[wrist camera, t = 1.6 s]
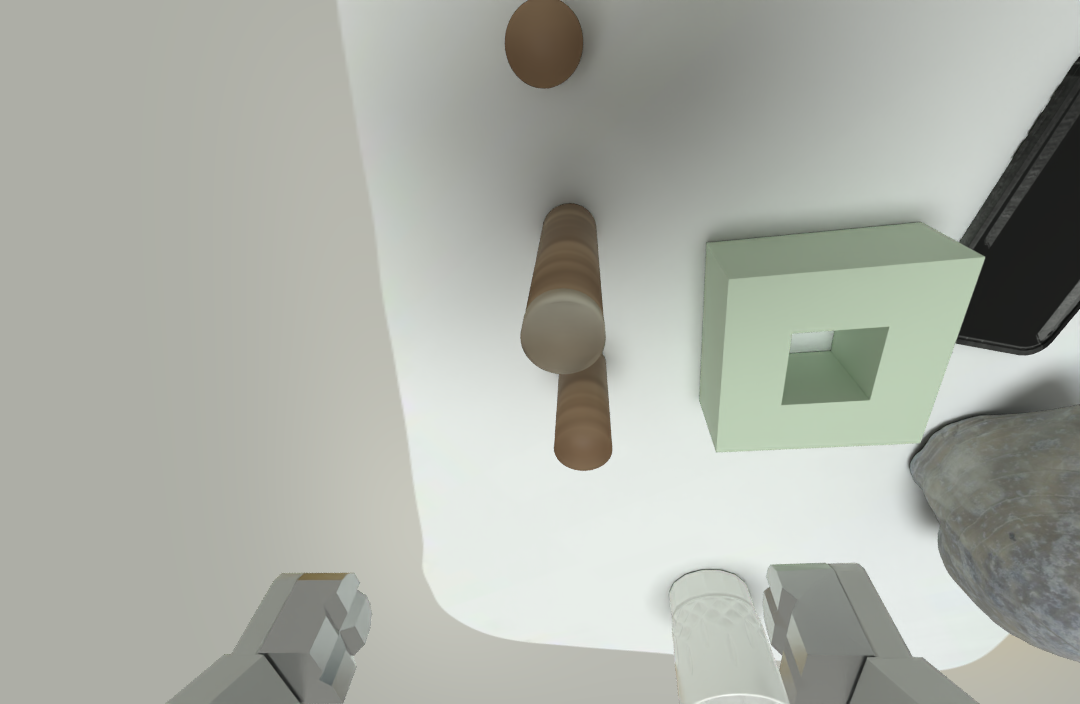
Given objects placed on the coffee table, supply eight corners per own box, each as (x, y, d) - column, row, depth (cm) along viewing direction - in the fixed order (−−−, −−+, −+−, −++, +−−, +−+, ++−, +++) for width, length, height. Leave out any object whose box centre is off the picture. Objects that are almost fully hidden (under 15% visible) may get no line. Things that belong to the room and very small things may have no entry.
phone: (1279, 69, 22) (1038, 358, 29) (1250, 68, 22) (1024, 348, 30) (1104, 34, 21) (909, 335, 29) (1081, 34, 22) (898, 325, 30)
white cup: (736, 622, 47) (770, 751, 38) (652, 610, 47) (668, 737, 38) (767, 571, 43) (814, 703, 34) (675, 558, 43) (699, 687, 34)
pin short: (514, 9, 23) (498, 3, 19) (579, -1, 23) (579, -10, 18) (523, 83, 24) (511, 93, 20) (585, 74, 24) (586, 82, 20)
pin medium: (557, 346, 32) (550, 429, 25) (604, 342, 32) (610, 425, 25) (562, 384, 34) (557, 471, 27) (607, 381, 33) (613, 469, 27)
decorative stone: (959, 363, 31) (1223, 589, 18) (1137, 371, 30) (1537, 611, 18) (870, 525, 39) (1010, 762, 26) (1010, 534, 38) (1222, 780, 26)
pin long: (538, 206, 28) (514, 304, 17) (594, 200, 27) (602, 297, 17) (545, 258, 29) (527, 376, 19) (598, 253, 29) (607, 371, 19)
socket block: (706, 242, 28) (728, 279, 24) (921, 222, 27) (985, 256, 22) (699, 400, 34) (716, 452, 29) (875, 390, 32) (920, 443, 28)
